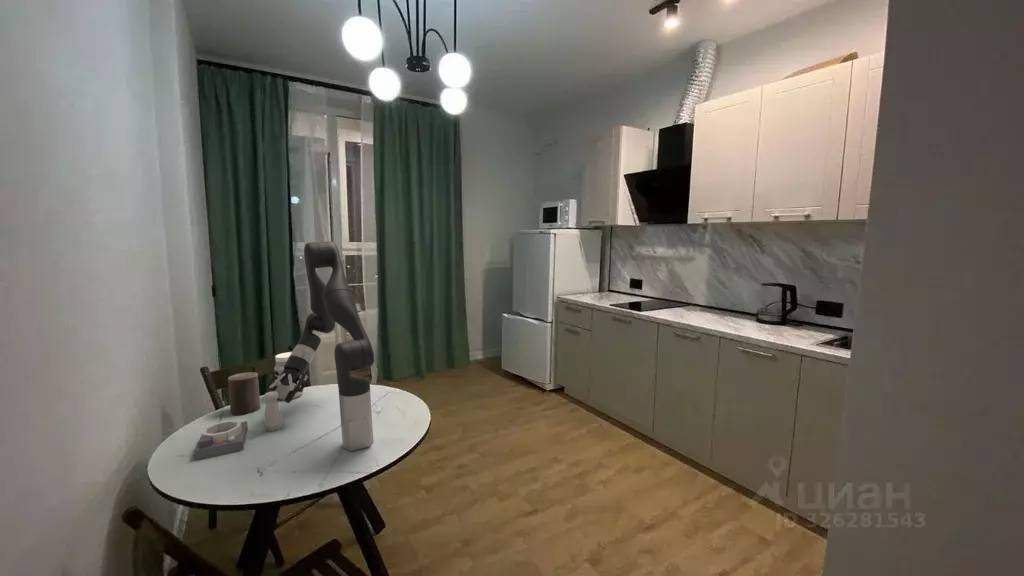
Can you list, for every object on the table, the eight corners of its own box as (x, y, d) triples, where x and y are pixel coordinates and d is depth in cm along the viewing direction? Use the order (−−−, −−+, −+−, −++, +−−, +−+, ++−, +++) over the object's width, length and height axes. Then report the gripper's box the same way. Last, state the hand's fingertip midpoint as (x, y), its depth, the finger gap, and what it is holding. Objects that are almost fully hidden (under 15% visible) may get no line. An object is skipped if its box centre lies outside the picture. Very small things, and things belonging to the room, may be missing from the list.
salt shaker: (268, 434, 137) (265, 397, 135) (261, 429, 140) (257, 393, 139) (286, 427, 142) (283, 391, 140) (279, 423, 145) (276, 388, 144)
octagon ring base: (243, 449, 127) (241, 433, 126) (195, 460, 121) (193, 442, 120) (247, 429, 141) (246, 414, 140) (205, 437, 135) (203, 422, 134)
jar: (297, 390, 177) (293, 350, 175) (307, 395, 171) (304, 353, 169) (272, 397, 170) (269, 355, 168) (282, 402, 164) (278, 359, 161)
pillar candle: (240, 417, 151) (237, 378, 149) (225, 412, 155) (221, 374, 153) (266, 407, 159) (263, 370, 158) (250, 403, 164) (247, 367, 162)
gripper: (278, 353, 151) (253, 394, 141) (309, 356, 147) (286, 398, 137) (290, 363, 156) (268, 403, 147) (321, 365, 152) (299, 407, 143)
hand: (276, 400), depth 142 cm, fingers open, 8 cm apart
